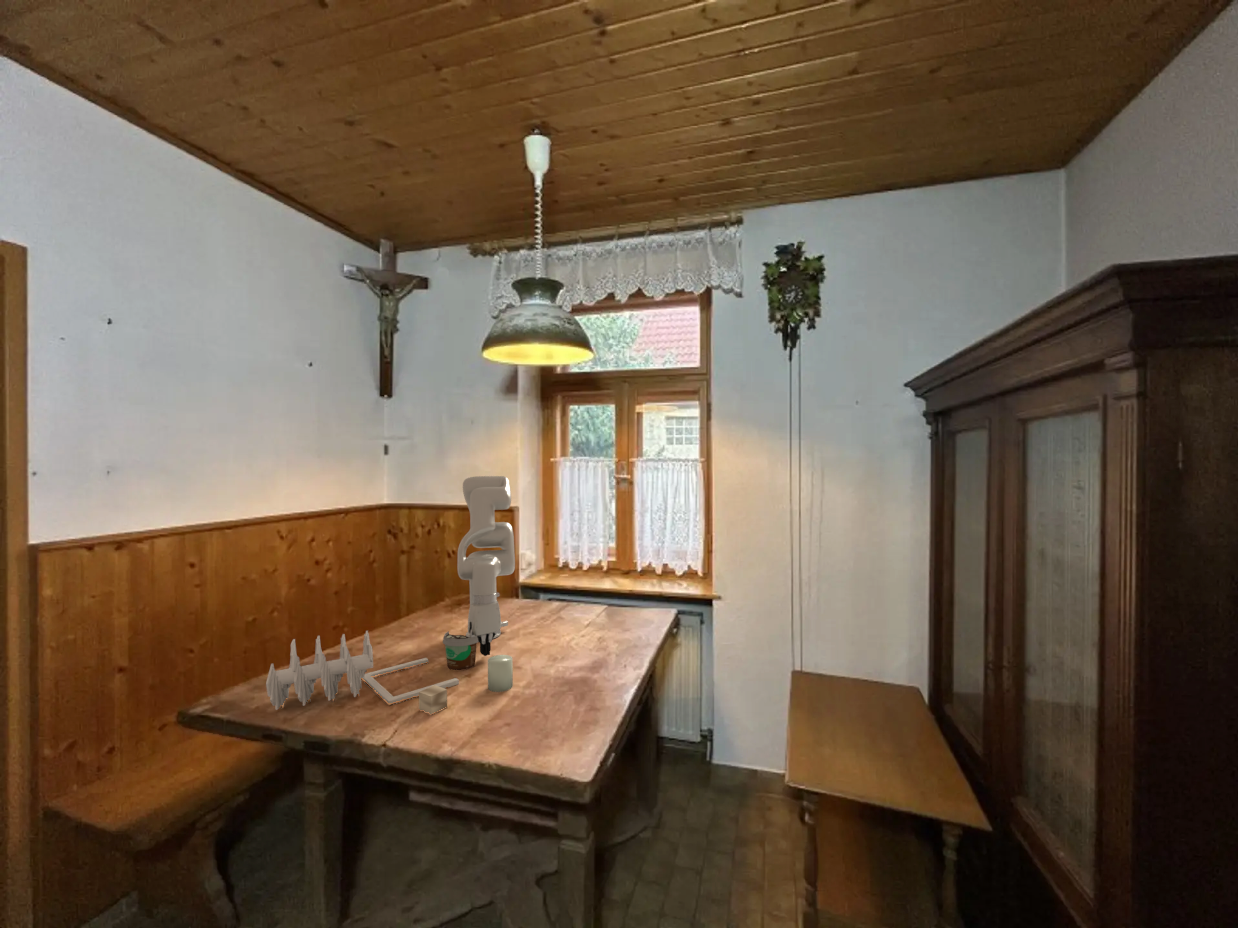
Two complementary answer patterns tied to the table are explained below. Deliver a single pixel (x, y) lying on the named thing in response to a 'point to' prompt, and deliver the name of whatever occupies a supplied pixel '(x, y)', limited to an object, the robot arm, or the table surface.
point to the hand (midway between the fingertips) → (485, 654)
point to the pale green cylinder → (500, 673)
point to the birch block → (433, 699)
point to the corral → (391, 699)
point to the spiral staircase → (319, 673)
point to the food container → (460, 651)
